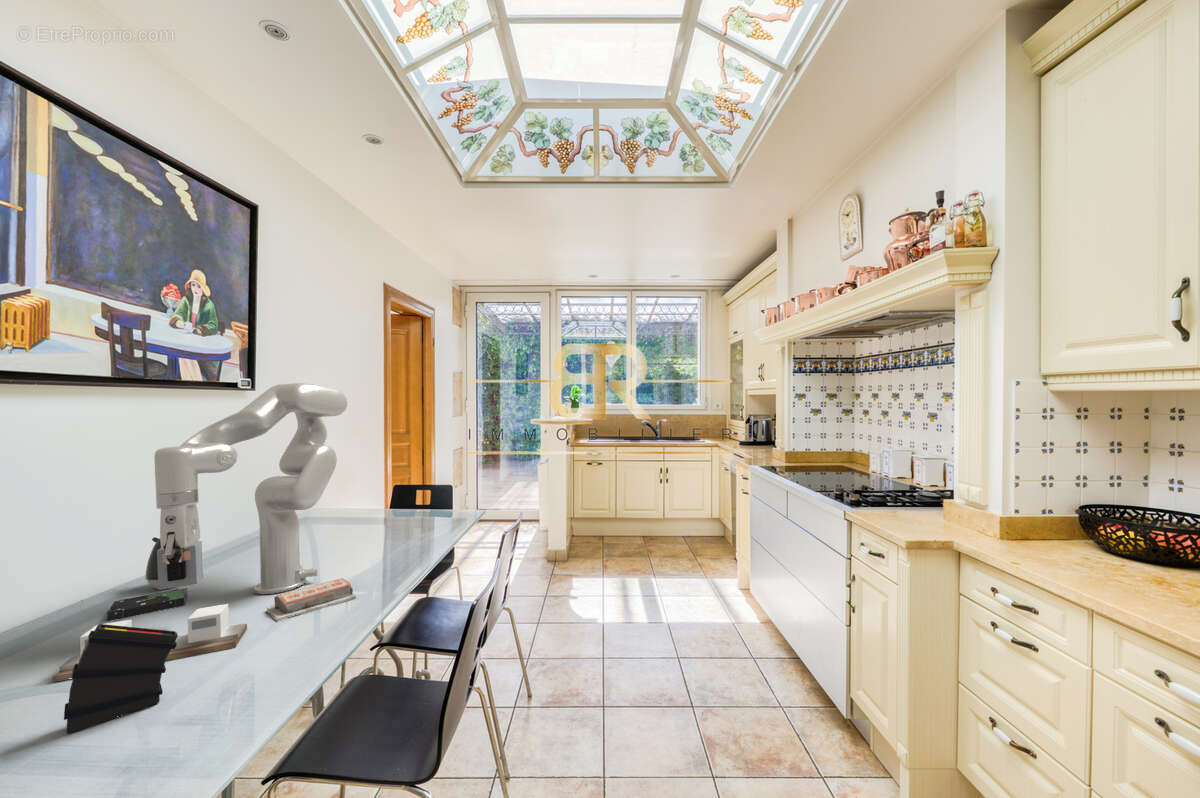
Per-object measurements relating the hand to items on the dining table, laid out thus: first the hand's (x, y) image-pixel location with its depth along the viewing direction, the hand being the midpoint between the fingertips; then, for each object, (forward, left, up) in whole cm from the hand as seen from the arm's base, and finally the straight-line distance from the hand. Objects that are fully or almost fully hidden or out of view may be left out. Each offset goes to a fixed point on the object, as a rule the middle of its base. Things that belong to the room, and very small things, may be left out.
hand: (181, 575), depth 114 cm
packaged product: (-27, 0, -13) cm, 30 cm away
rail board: (-1, +15, -12) cm, 19 cm away
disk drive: (+12, -20, -13) cm, 27 cm away
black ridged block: (-4, +38, -12) cm, 41 cm away
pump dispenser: (+14, -39, -12) cm, 44 cm away
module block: (0, 0, -2) cm, 2 cm away
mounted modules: (-1, +15, -10) cm, 18 cm away
